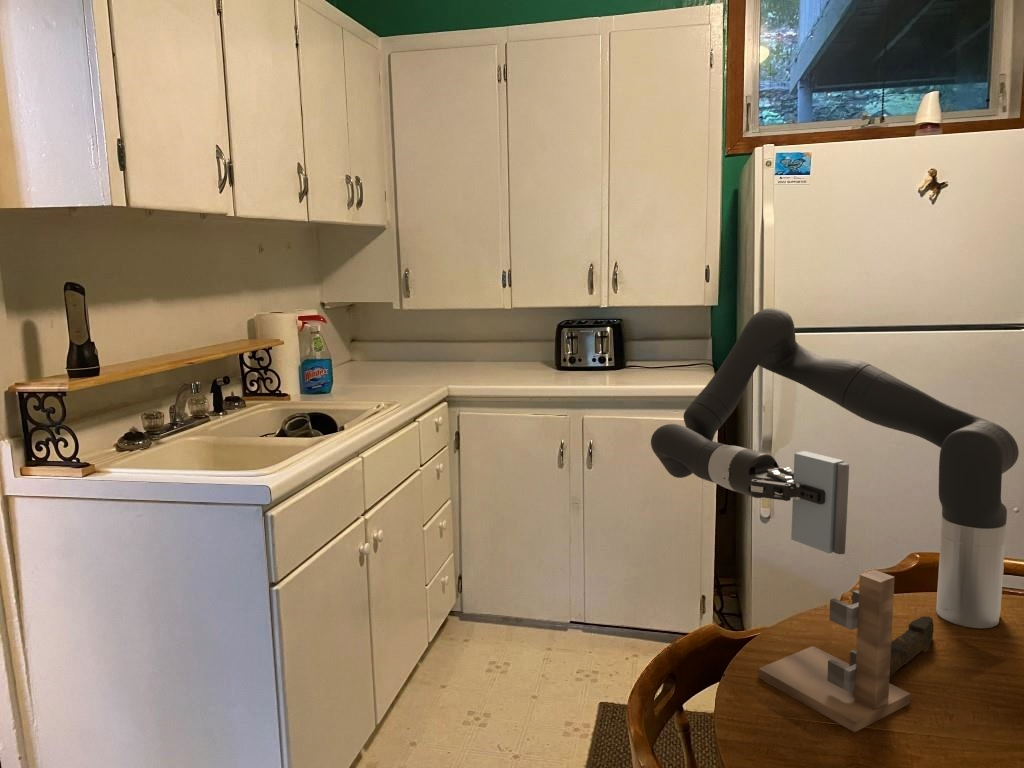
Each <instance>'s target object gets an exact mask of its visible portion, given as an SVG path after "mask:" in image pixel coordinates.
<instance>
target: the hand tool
mask: <svg viewBox="0 0 1024 768" xmlns="http://www.w3.org/2000/svg"><path fill="white" fill-rule="evenodd" d="M934 632H935V631H934V620H933V618H932V617H931V616H920V617H919V618H917V619H915V620H912V621H911V622H910V623H909V624H908V629H906V630H905V632H903V633H902V634H901V635H899V636H898V637H896V638H895V639H893V640H891V659H890V679H892V678H893V675H894V674H895V672H896V671H898V670H900V669H901V668H902V667H903V666H904V665H905V664H908V663H909V661H911V660H912V659H913V658H914V657H916V656H917V655H918V654H919V653H921V654H925V653H926V652H928V650H929V648H930V647H931V644H932V642H933V637H934ZM890 679H889V680H890Z"/></svg>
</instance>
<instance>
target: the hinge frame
mask: <svg viewBox="0 0 1024 768" xmlns="http://www.w3.org/2000/svg"><path fill="white" fill-rule="evenodd" d="M895 579H896V578H895V576H893V575H891V574H887V573H884V572H882V571H879V570H876V569H871V570H869V571H865V572H863V573H861V574H859V583H858V584H859V585H858V586H859V589H855V590H852V596H851V597H852V598H851V599H852V600H851V602H852V603H851V604H849V603H847V602H844V601H841V600H839V599H837V598H832V599H829V600H830V601H829V621H830V622H832V623H834V624H837V625H839V626H841V627H844V628H846V629H848V630H851V631H852V630H854V629H857V630H856V632H857V634H856V649H852V650H850V651H849V663H848V662H846V661H844V660H843V659H840V658H838V657H836V656H834V655H832V654H830V653H827V652H825V651H824V650H822V649H820V648H817V647H815V646H814V645H813V646H809V647H808V648H807V647H806V648H805V649H802V650H800V651H797V652H794V653H793V654H791V655H788V656H786V657H783V658H781V659H778V660H776V661H774V662H772V663H769V664H766V665H764V666H761V667H759V668H758V679H760V680H761V679H762V680H761V681H763V680H764V681H763V682H765V681H766V682H765V683H767V684H768V683H769V684H768V685H770V684H771V685H770V686H772V687H774V688H776V689H778V690H780V691H781V692H783V693H784V694H787V695H788V696H790V697H791V698H793V699H794V700H797V701H798V702H800V703H801V704H804V705H805V706H807V707H809V708H811V709H812V710H814V711H816V712H818V713H819V714H821V715H823V716H825V717H827V718H828V719H830V720H832V721H833V722H835V723H837V724H839V725H841V726H842V727H844V728H846V729H848V730H849V731H850V732H853V733H856V732H858V731H860V730H863V729H864V728H866V727H868V726H870V725H871V724H873V723H876V722H877V721H879V720H881V719H883V718H885V717H887V716H889V715H891V714H893V713H894V712H897V711H899V710H900V709H902V708H904V707H907V706H909V705H910V704H911V693H910V692H908V691H906V690H904V689H902V688H899V687H897V686H895V685H893V684H892V683H890V659H891V642H892V637H893V636H892V635H893V634H892V633H893V620H894V619H893V616H894V615H893V614H894V598H895V597H894V596H895V595H894V594H895Z"/></svg>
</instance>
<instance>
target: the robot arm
mask: <svg viewBox="0 0 1024 768" xmlns="http://www.w3.org/2000/svg"><path fill="white" fill-rule="evenodd" d="M793 320H794V319H792V316H791V315H790V314H789V313H788V312H787V311H785V310H784V309H782V308H777V307H769V308H764V309H761V310H760V311H757V312H755V313H754V314H753V315H752V316H751V317H750V319H749V320H748V321H747V323H746V324H745V326H744V328H743V330H742V331H741V333H740V334H739V337H738V339H737V340H736V342H735V343H734V345H733V347H732V348H731V350H730V351H729V353H728V354H727V357H725V359H724V360H723V362H722V364H721V366H719V368H718V370H717V371H716V372H715V374H714V375H713V377H712V378H711V379H710V380H709V382H708V383H707V385H705V387H704V388H703V389H702V390H701V391H700V392H699V394H698V395H697V396H696V398H694V399H693V401H691V403H690V404H689V405H688V407H687V408H686V409H685V411H684V412H683V421H684V425H685V426H684V425H681V424H677V423H668V424H664V425H661V426H660V427H658V428H657V429H655V431H654V432H653V433H652V435H651V438H650V447H651V449H652V452H653V453H654V454H655V456H656V457H657V458H658V460H659V461H660V462H661V464H662V465H663V467H664V469H665V470H666V471H667V472H668V473H669V475H671V476H672V477H674V478H676V479H677V478H678V479H683V478H687V477H690V476H691V475H692V474H693V475H694V476H696V477H697V478H699V479H701V480H704V481H707V482H710V483H715V484H717V485H719V486H720V487H723V488H725V489H726V490H727V489H728V490H730V491H733V492H736V493H739V494H743V495H745V496H749V497H752V498H755V499H763V498H765V499H769V500H771V499H772V500H776V501H777V500H778V501H784V502H789V501H791V499H792V500H793V499H796V500H801V499H804V500H807V501H810V502H814V503H817V504H824V503H825V491H824V490H822V489H819V488H815V487H812V486H808V485H803V486H802V483H800V482H797V481H793V479H794V469H793V470H792V469H791V468H790V467H787V466H779V464H778V462H777V460H776V459H775V458H774V457H773V456H772V455H770V454H768V453H765V452H761V451H759V450H758V451H757V450H754V449H750V448H746V447H742V446H737V445H730V444H729V445H728V444H724V443H721V442H718V441H717V442H716V441H713V440H714V438H715V435H716V433H717V431H718V430H720V428H721V427H722V425H724V423H726V421H727V419H728V418H730V416H731V415H732V414H733V412H734V411H735V410H736V408H737V406H738V404H739V402H740V401H741V399H742V396H743V395H744V392H745V390H746V389H747V386H748V384H749V382H750V380H751V378H752V376H753V374H754V372H755V370H756V369H757V367H758V366H759V367H761V368H763V369H765V370H768V371H769V372H772V373H774V374H776V375H779V376H782V377H784V378H786V379H789V380H791V381H793V382H795V383H798V384H800V385H802V386H803V387H805V388H807V389H809V390H811V391H813V392H815V393H816V394H818V395H820V396H822V397H824V398H825V399H827V400H830V401H831V402H833V403H835V404H837V405H838V406H839V407H841V408H843V409H844V410H847V411H848V412H850V413H852V414H854V415H856V416H857V417H859V418H861V419H863V420H865V421H868V422H870V423H872V424H875V425H878V426H880V427H883V428H888V429H892V430H895V431H899V432H902V433H906V434H910V435H912V436H916V437H919V438H921V439H924V440H926V441H928V442H929V443H932V444H934V445H935V446H937V447H939V449H940V452H939V461H938V499H939V502H940V505H941V527H940V529H941V530H940V545H939V560H938V561H939V562H938V563H939V564H938V575H937V576H938V577H937V578H938V579H937V589H936V590H937V591H936V593H937V594H936V609H935V610H936V613H937V615H938V616H939V617H940V618H942V619H943V620H945V621H947V622H949V623H952V624H955V625H958V626H962V627H965V628H966V627H968V628H971V629H972V628H973V629H988V628H989V629H990V628H993V627H995V626H997V625H998V624H999V623H1000V617H1001V607H1002V595H1003V584H1004V583H1003V582H1004V569H1005V568H1004V566H1005V564H1004V562H1005V561H1004V560H1005V546H1006V533H1007V520H1008V517H1007V516H1008V510H1007V507H1006V505H1004V503H1002V483H1003V482H1002V479H1003V474H1004V473H1006V472H1007V471H1009V470H1010V469H1012V467H1014V466H1015V464H1016V463H1017V461H1018V458H1019V455H1020V454H1019V452H1020V450H1019V446H1018V443H1017V441H1016V440H1015V438H1014V437H1013V435H1012V434H1011V433H1010V432H1009V431H1008V430H1007V429H1005V428H1004V427H1003V426H1000V424H997V423H994V422H993V421H991V420H990V421H989V420H987V419H985V418H983V417H979V416H976V415H975V414H972V413H969V412H966V411H963V410H961V409H958V408H957V407H954V406H952V405H949V404H946V403H944V402H942V401H940V400H938V399H937V398H934V397H933V396H931V395H930V394H928V393H925V392H924V391H923V390H920V389H919V388H917V387H915V386H913V385H911V384H909V383H907V382H904V381H903V380H900V379H899V378H897V377H896V376H893V375H892V374H890V373H888V372H886V371H884V370H882V369H880V368H878V367H877V366H874V365H872V364H870V363H868V362H866V361H862V360H858V359H853V358H852V359H851V358H828V357H825V356H824V357H823V356H821V355H819V354H816V353H815V352H814V351H811V350H808V349H807V348H805V347H803V346H802V345H800V344H799V343H798V342H797V339H796V329H795V323H794V321H793Z"/></svg>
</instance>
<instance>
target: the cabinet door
mask: <svg viewBox="0 0 1024 768" xmlns="http://www.w3.org/2000/svg"><path fill="white" fill-rule="evenodd" d="M793 458H794V459H793V470H794V479H793V481H797V482H800V483H802V486H803V485H808V486H812V487H815V488H819V489H822V490H824V491H825V503H824V504H817V503H814V502H810V501H807V500H804V499H801V500H796V499H793V498H792V506H791V507H792V510H791V534H790V535H791V536H790V538H791V539H790V540H792V541H794V542H798V543H800V544H801V545H806V546H807V547H808V546H809V547H811V548H813V549H817V550H819V551H821V552H825V553H827V554H833V553H835V554H837V555H845V554H846V545H847V543H846V539H847V538H846V537H847V521H848V520H847V519H848V499H849V498H848V497H849V481H850V480H849V479H850V464H849V463H846V462H845V460H843V459H839V458H834V457H830V456H827V455H822V454H820V453H815V452H811V451H806V450H802V451H799V452H794V456H793Z"/></svg>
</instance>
